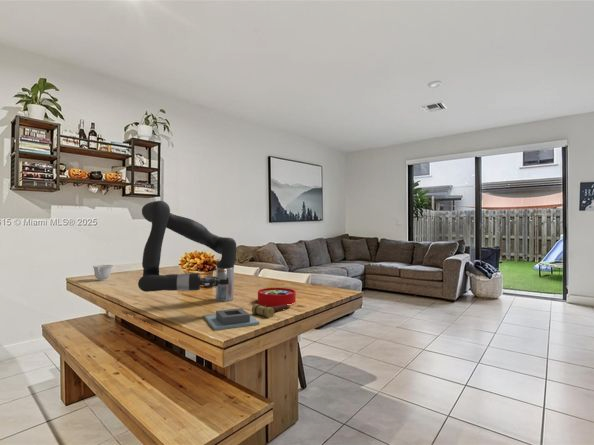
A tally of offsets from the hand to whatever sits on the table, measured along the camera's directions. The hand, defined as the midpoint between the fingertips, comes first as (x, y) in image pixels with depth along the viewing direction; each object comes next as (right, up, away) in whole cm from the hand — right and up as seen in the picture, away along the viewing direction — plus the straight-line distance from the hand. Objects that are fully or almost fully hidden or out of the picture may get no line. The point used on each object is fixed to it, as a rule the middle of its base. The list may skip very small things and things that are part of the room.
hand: (228, 280), depth 146 cm
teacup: (-104, -14, +77) cm, 130 cm away
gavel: (+21, -16, +4) cm, 27 cm away
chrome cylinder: (-3, -8, -1) cm, 9 cm away
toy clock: (+20, -16, +24) cm, 35 cm away
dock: (+4, -15, -12) cm, 19 cm away
